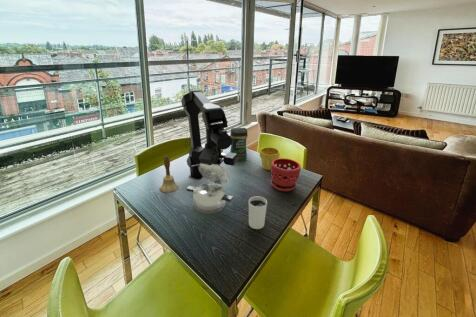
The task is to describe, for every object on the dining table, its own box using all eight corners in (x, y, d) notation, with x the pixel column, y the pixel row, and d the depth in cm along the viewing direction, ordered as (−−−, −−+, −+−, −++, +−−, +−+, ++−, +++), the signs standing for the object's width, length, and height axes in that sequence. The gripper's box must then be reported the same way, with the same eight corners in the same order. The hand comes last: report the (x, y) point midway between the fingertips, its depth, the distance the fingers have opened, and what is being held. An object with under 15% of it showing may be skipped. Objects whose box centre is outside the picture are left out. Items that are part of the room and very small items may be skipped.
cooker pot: (180, 206, 104) (179, 194, 101) (197, 190, 115) (196, 178, 113) (224, 219, 97) (224, 206, 94) (238, 200, 108) (238, 188, 106)
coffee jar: (231, 162, 142) (231, 131, 134) (228, 156, 149) (228, 126, 141) (248, 161, 144) (249, 130, 136) (244, 155, 151) (245, 125, 143)
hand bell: (182, 185, 119) (179, 154, 112) (170, 194, 112) (167, 161, 105) (167, 181, 122) (164, 150, 115) (156, 189, 115) (151, 157, 108)
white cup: (245, 227, 93) (246, 204, 89) (250, 216, 99) (252, 194, 95) (262, 231, 91) (264, 208, 87) (267, 220, 97) (269, 198, 92)
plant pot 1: (277, 172, 132) (279, 155, 128) (257, 170, 134) (258, 153, 130) (278, 164, 141) (280, 148, 137) (260, 162, 143) (261, 146, 139)
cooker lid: (194, 160, 101) (197, 155, 103) (202, 180, 111) (205, 175, 112) (224, 166, 97) (227, 161, 98) (230, 186, 106) (232, 182, 108)
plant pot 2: (292, 196, 112) (295, 172, 107) (265, 188, 118) (267, 165, 113) (301, 183, 122) (304, 161, 117) (275, 176, 128) (277, 155, 123)
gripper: (181, 143, 95) (185, 179, 102) (227, 151, 89) (228, 188, 96) (196, 133, 104) (199, 166, 111) (239, 140, 98) (238, 174, 105)
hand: (215, 173), depth 106 cm, fingers closed, pressing on cooker lid
